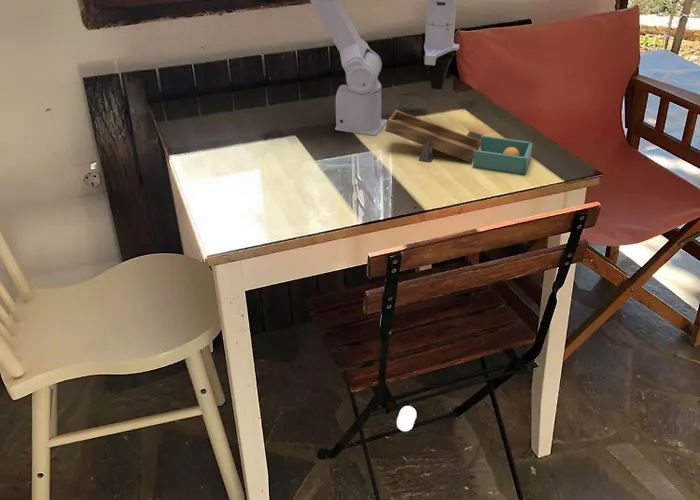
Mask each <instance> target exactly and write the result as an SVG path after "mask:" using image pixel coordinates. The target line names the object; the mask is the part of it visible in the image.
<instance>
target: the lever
mask: <svg viewBox="0 0 700 500" xmlns="http://www.w3.org/2000/svg"><path fill="white" fill-rule="evenodd" d="M384 131H385V132H386V133H387V132H388V133H390V134H392V135H395V136H398V137H401V138H404V139H406V140H408V141H412V142H415V143H416V144H420V145H422V146H423V143H428V144H429V147H430V148H433V149H436V150H438V151H437V152H441V153H444V154H447V155H449V156H451V157H455V158H457V159H460V160H463V161H466V162H468V163H470V162H471V161H472V159H473V158H474V150H478V148H479V145H481V138H482V135H483V134H482V133H478V132H476V131H473V130H468V132H467V134H464V133H461V132H459V131H455V130H453V129H449V128H447V127H445V126H442V125H439V124H436V123H434V122H431V121H427V120H425V119H422V118H420V117H416V116H414V115H412V114H408V113H406V112H403V111H400V110H398V109H395V110H394V111H393V112H392V114H391V115H390V116H389V118H388V119H387V123H386V124H385V130H384Z"/></svg>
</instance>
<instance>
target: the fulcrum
mask: <svg viewBox="0 0 700 500" xmlns="http://www.w3.org/2000/svg"><path fill="white" fill-rule="evenodd" d="M438 152H439V151H438V150H436V149H433V148H430V147H429V144H428V143H423V145H422V153H420V156H419V157H418V161H421V162H424V163H425V162H427V163H431V162H432V161H433V159H434V158H435V156H436V154H437V153H438Z"/></svg>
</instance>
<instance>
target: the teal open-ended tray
mask: <svg viewBox="0 0 700 500" xmlns="http://www.w3.org/2000/svg"><path fill="white" fill-rule="evenodd" d="M533 144H534V143H533V141H527V140H519V139H511V138H505V137H504V138H503V137H497V136H489V135H484V134H482V138H481V142H480V150H478V149H476V150H474V155H473V157H472V159H473V161H472V168H473V169H481V170H488V171H495V172H502V173H508V174H513V175H522V176H525V175H526V172H527V170H528V167H529V164H530V161H531V159H532V151H533ZM508 147H514V148H516V149H517V150H518V151H519V154H520V156H515V155H508V154H503V152H504V150H505V149H506V148H508Z"/></svg>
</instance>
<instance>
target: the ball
mask: <svg viewBox="0 0 700 500" xmlns="http://www.w3.org/2000/svg"><path fill="white" fill-rule="evenodd" d="M503 154H508V155H515V156H520V154H519V151H518V150H517V149H516V148H514V147H508V148H506V149H505V150H504V152H503Z"/></svg>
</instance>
